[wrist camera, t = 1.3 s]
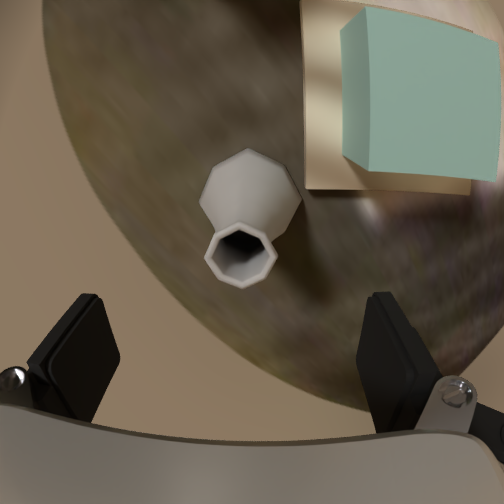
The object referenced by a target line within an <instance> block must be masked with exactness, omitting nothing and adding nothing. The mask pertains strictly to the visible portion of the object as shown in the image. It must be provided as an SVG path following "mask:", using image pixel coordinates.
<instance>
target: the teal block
mask: <svg viewBox="0 0 504 504" xmlns="http://www.w3.org/2000/svg"><path fill="white" fill-rule="evenodd" d="M340 45H341V67H342V155H343V156H345V157H347V158H348V159H350V160H351V161H353V162H355V163H356V164H358V165H360V166H361V167H363V168H364V169H366V170H367V171H376V172H395V173H410V174H424V175H436V176H447V177H457V178H466V179H475V180H484V181H491V182H496V176H497V167H498V157H499V145H500V128H501V75H500V59H499V47H498V43H497V42H494V41H492V40H489V39H487V38H484V37H482V36H479V35H476V34H474V33H471V32H468V31H465V30H462V29H459V28H456V27H453V26H450V25H447V24H443V23H440V22H436V21H433V20H429V19H425V18H421V17H417V16H413V15H409V14H405V13H400V12H395V11H390V10H385V9H379V8H374V7H367V6H365V7H364V8H363V9H362V10H361V11H360V12H359V13H358V14H357V15H355V16H354V17H353V18H352V19H351V20H350V21H349V22H348V23H347V24H346V25H345V26H344V27H343V28H342V29H341V30H340Z"/></svg>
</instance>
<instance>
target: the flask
mask: <svg viewBox="0 0 504 504" xmlns="http://www.w3.org/2000/svg"><path fill="white" fill-rule="evenodd" d="M301 200H302V198H301V196H300V194H299V192H298V190H297V188H296V186H295V184H294V182H293V180H292V178H291V176H290V175H289V173H288V171H287V169H286V167H285V165H284V164H281V163H279V162H277V161H275V160H273V159H271V158H269V157H266V156H264V155H262V154H260V153H257V152H255V151H253V150H251V149H248V148H247V149H245V150H243V151H241V152H240V153H238V154H236V155H234V156H232V157H230V158H229V159H227V160H225V161H223V162H221V163H220V164H218V165H216V166H214V167H213V168H212V171H211V173H210V175H209V178H208V180H207V182H206V185H205V187H204V190H203V192H202V194H201V197H200V199H199V204H200V205H201V207H202V209H203V210H204V212H205V213H206V215H207V217H208V218H209V220H210V221H211V223H212V225H213V226H214V228H215V233H214V236H213V238H212V240H211V243H210V245H209V247H208V250H207V252H206V254H205V257H204V259H205V261H206V262H207V264H208V265H209V267H210V268H211V270H212V271H213V273H214V274H215V275H216V277H217V278H218V280H220V281H223V282H225V283H228V284H230V285H233V286H235V287H238V288H240V289H245V288H247V287H249V286H251V285H254V284H256V283H258V282H260V281H262V280H265V279H266V278H267V276H268V274H269V272H270V271H271V269H272V267H273V265H274V263H275V261H276V260H277V258H278V254H277V252H276V251H275V249H274V247H273V245H272V244H271V242H272V241H273V240H274V239H275V238H277V237H278V236H280V235H281V234H283V233H284V232H285V230H286V229H287V227H288V225H289V223H290V221H291V219H292V217H293V215H294V213H295V211H296V210H297V208H298V206H299V204H300V202H301Z"/></svg>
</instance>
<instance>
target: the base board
mask: <svg viewBox="0 0 504 504" xmlns="http://www.w3.org/2000/svg"><path fill="white" fill-rule="evenodd" d="M299 4H300V20H301V39H302V62H303V94H304V186H305V188H306V189H346V190H383V191H407V192H426V193H443V194H457V195H470V190H471V182H472V179H466V178H457V177H447V176H436V175H424V174H410V173H395V172H376V171H367V170H366V169H364V168H363V167H361V166H360V165H358V164H356V163H355V162H353V161H351V160H350V159H348V158H347V157H345V156H343V155H342V67H341V45H340V30H341V29H342V28H343V27H344V26H345V25H346V24H347V23H348V22H349V21H350V20H351V19H352V18H353V17H354V16H355V15H357V14H358V13H359V12H360V11H361V10H362V9H363V8H364V7H365V6H367V7H374V8H379V9H385V10H390V11H395V12H400V13H405V14H409V15H413V16H417V17H421V18H425V19H429V20H433V21H436V22H440V23H443V24H447V25H450V26H453V27H456V28H459V29H462V30H465V31H468V32H471V33H473V31H471V30H469V29H466V28H463V27H460V26H457V25H454V24H451V23H448V22H444V21H441V20H437V19H434V18H430V17H427V16H423V15H419V14H415V13H411V12H406V11H402V10H397V9H392V8H387V7H382V6H376V5H370V4H364V3H357V2H349V1H341V0H300V2H299Z"/></svg>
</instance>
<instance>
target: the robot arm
mask: <svg viewBox="0 0 504 504" xmlns="http://www.w3.org/2000/svg"><path fill="white" fill-rule="evenodd" d="M119 362H120V353H119V351H118V347H117V345H116V342H115V339H114V336H113V333H112V330H111V327H110V323H109V320H108V317H107V314H106V311H105V307H104V304H103V301H102V299H101V298H99V297H98V295H96V294H86V293H83V294H81V295H80V296H79V297H78V298H77V299H76V301H75V302H74V303H73V304H72V305H71V307H70V308H69V309H68V310H67V311H66V313H65V314H64V315H63V316H62V317H61V319H60V320H59V321H58V322H57V324H56V325H55V326H54V327H53V328H52V330H51V331H50V332H49V333H48V335H47V336H46V337H45V338H44V340H43V341H42V342H41V344H40V345H39V346H38V348H37V349H36V350H35V351H34V353H33V354H32V355H31V357H30V358H29V359H28V361H27V364H28V366H29V369H28V371H26V369H24V368H23V367H20V366H13V367H10V368H7V369H5V370H4V371H2V372H1V373H0V504H504V413H501V412H499V411H497V410H494V409H492V408H490V407H487V406H485V405H482V404H480V403H478V402H477V392H476V389H475V387H474V386H473V385H472V384H471V383H470V382H469V381H468V380H466V379H464V378H462V377H458V376H446V377H442V375H441V373H440V371H439V369H438V367H437V366H436V364H435V362H434V360H433V358H432V357H431V355H430V353H429V351H428V349H427V348H426V346H425V344H424V343H423V341H422V339H421V337H420V336H419V334H418V332H417V331H416V329H415V328H414V327H412V326H411V325H410V323H409V321H408V319H407V318H406V316H405V315H404V313H403V311H402V310H401V308H400V306H399V305H398V303H397V301H396V300H395V298H394V297H393V295H392V293H391V292H374V293H373V295H372V297H368V299H367V304H366V309H365V315H364V321H363V326H362V331H361V336H360V341H359V346H358V351H357V355H356V365H357V368H358V371H359V375H360V378H361V381H362V385H363V388H364V391H365V395H366V398H367V401H368V405H369V408H370V412H371V415H372V419H373V422H374V426H375V430H376V433H377V434H369V435H361V436H352V437H341V438H330V439H316V440H298V441H225V440H207V439H193V438H183V437H173V436H164V435H156V434H149V433H142V432H136V431H129V430H123V429H118V428H112V427H107V426H102V425H97V424H92V423H91V422H92V420H93V417H94V415H95V413H96V411H97V408H98V406H99V404H100V402H101V400H102V398H103V396H104V394H105V391H106V389H107V387H108V385H109V383H110V381H111V379H112V377H113V375H114V373H115V371H116V369H117V367H118V365H119Z"/></svg>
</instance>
